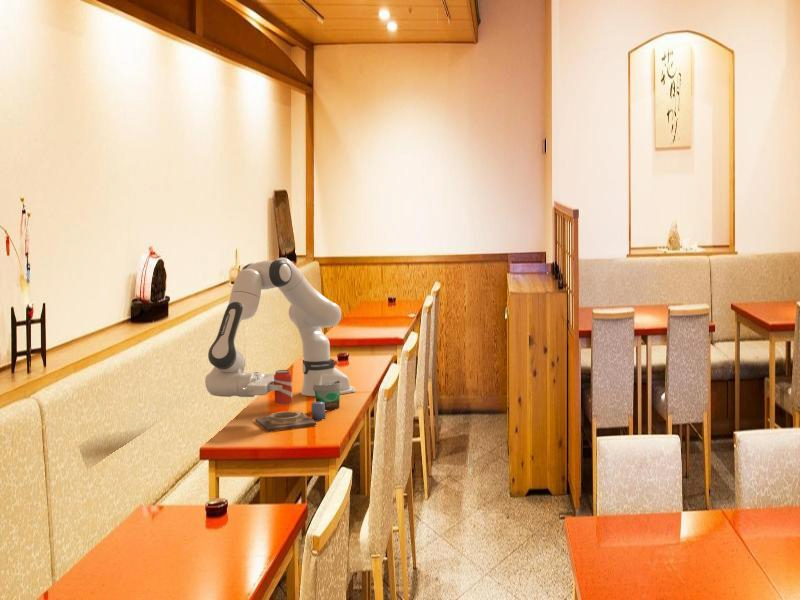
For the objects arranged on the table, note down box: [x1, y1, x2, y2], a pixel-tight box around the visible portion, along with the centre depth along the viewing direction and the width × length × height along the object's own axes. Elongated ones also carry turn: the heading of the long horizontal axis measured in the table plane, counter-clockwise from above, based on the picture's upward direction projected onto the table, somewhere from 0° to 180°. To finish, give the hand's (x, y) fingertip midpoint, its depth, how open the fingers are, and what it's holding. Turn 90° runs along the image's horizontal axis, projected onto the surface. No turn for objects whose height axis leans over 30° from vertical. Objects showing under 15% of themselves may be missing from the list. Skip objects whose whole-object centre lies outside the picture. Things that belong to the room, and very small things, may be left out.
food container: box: [313, 380, 342, 411], centre depth 387 cm, size 12×6×10 cm, turn 129°
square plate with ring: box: [254, 410, 317, 433], centre depth 366 cm, size 18×18×3 cm
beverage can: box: [273, 369, 293, 406], centre depth 364 cm, size 6×6×12 cm
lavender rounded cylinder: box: [310, 401, 326, 421], centre depth 372 cm, size 5×5×6 cm
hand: (285, 385), depth 364 cm, fingers closed on beverage can, 6 cm apart
